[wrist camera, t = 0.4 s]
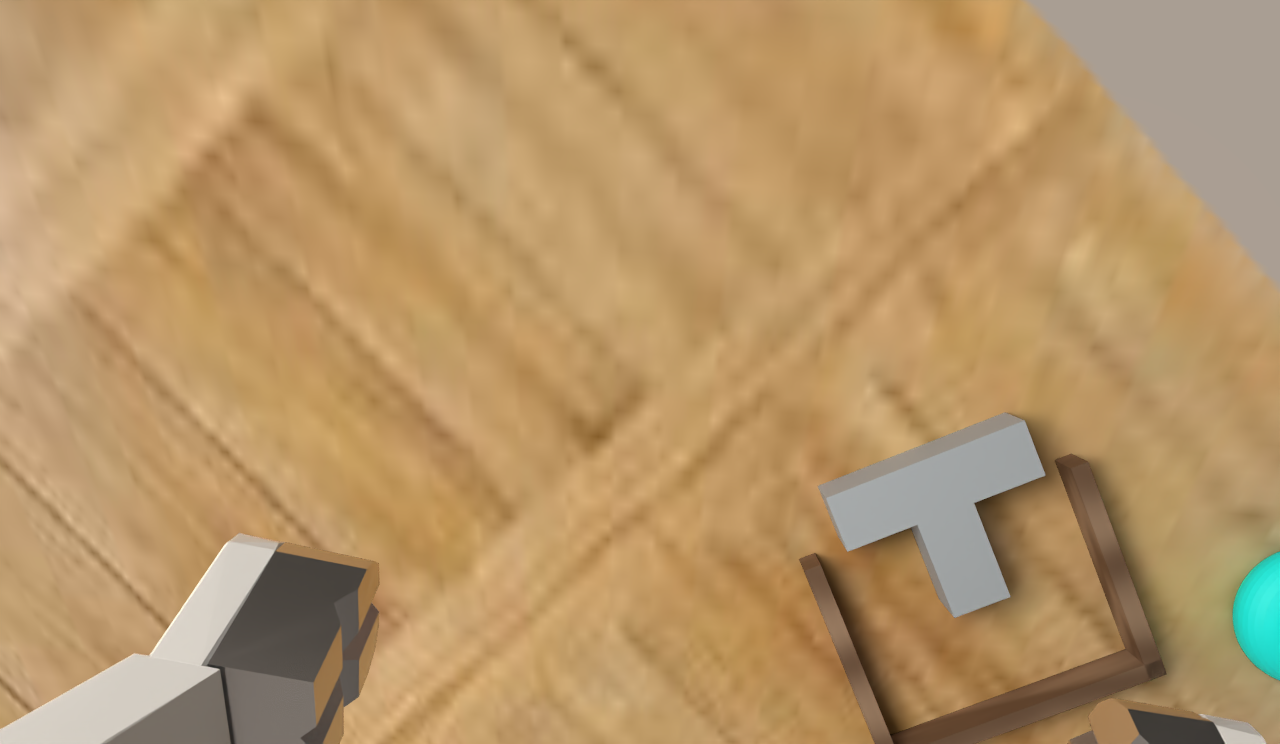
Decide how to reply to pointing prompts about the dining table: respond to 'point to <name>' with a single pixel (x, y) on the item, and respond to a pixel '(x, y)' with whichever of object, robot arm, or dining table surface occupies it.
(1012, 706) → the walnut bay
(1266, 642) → the donuts
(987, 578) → the T-block
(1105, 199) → the dining table surface
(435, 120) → the dining table surface
